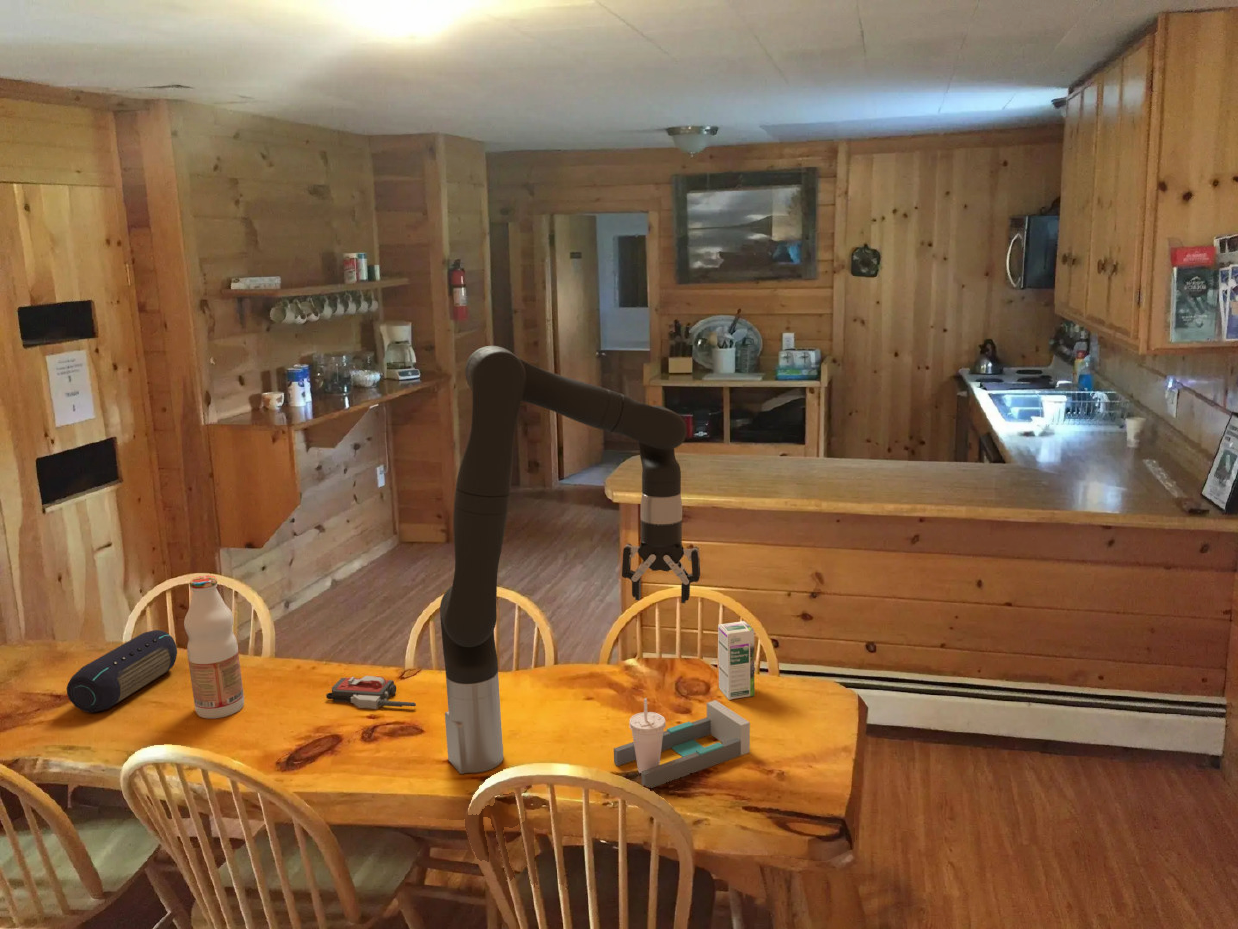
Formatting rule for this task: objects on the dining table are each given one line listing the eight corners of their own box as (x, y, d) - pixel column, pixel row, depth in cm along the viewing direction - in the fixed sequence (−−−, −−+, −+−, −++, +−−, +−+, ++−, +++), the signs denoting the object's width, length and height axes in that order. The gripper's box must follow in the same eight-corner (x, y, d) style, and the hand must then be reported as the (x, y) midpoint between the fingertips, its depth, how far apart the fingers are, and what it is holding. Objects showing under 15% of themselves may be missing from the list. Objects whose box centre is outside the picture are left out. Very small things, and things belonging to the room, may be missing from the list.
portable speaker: (105, 721, 201) (98, 675, 198) (64, 716, 203) (56, 671, 201) (188, 668, 224) (182, 626, 222) (151, 664, 227) (144, 622, 224)
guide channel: (645, 790, 171) (644, 759, 170) (613, 763, 180) (612, 733, 179) (749, 752, 182) (750, 722, 181) (715, 728, 191) (715, 699, 190)
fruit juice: (194, 723, 199) (176, 590, 192) (196, 703, 207) (178, 575, 201) (245, 714, 202) (228, 583, 195) (245, 694, 210) (228, 568, 204)
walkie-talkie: (321, 707, 205) (414, 713, 201) (319, 687, 204) (412, 693, 200) (340, 688, 213) (429, 693, 209) (338, 669, 212) (428, 674, 208)
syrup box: (728, 700, 202) (728, 633, 198) (717, 688, 207) (717, 622, 204) (754, 696, 203) (755, 630, 200) (743, 684, 209) (743, 619, 205)
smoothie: (624, 774, 176) (622, 701, 173) (640, 757, 182) (638, 686, 178) (657, 783, 173) (655, 709, 170) (672, 765, 179) (671, 693, 175)
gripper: (619, 520, 180) (619, 605, 183) (698, 524, 177) (697, 610, 181) (626, 509, 187) (626, 591, 191) (702, 512, 184) (701, 595, 188)
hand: (660, 600), depth 186 cm, fingers open, 8 cm apart
